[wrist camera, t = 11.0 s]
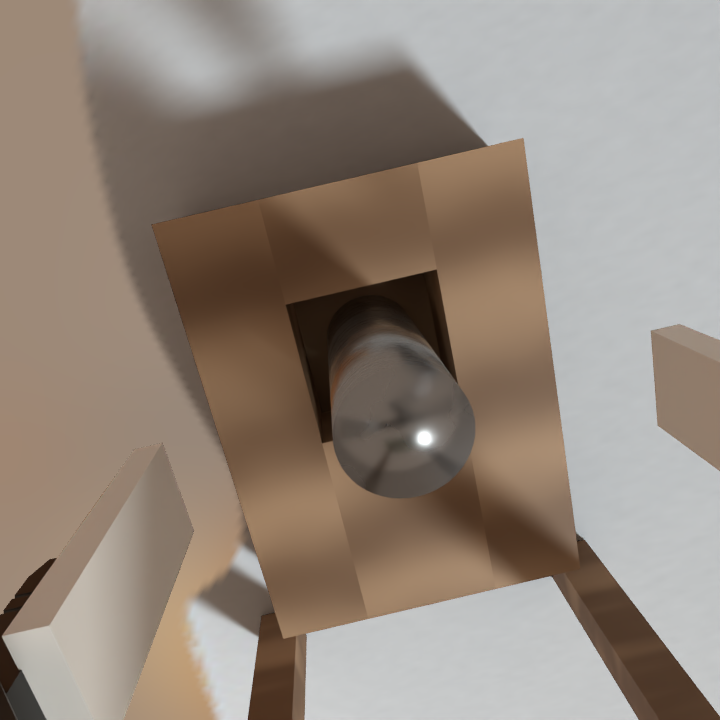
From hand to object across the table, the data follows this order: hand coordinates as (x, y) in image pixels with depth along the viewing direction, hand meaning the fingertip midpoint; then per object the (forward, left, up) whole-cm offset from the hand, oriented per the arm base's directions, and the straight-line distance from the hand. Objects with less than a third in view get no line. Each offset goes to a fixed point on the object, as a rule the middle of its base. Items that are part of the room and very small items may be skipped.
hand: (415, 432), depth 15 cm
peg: (0, 0, -12) cm, 12 cm away
